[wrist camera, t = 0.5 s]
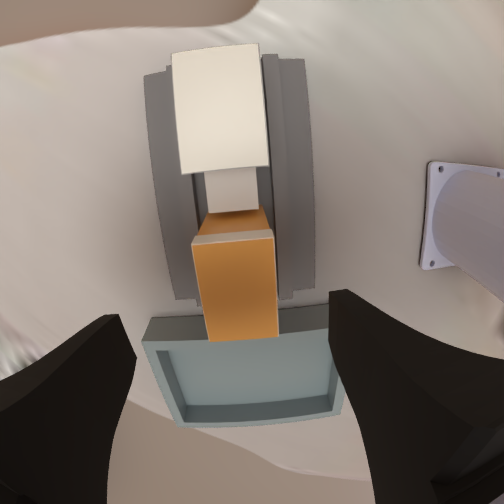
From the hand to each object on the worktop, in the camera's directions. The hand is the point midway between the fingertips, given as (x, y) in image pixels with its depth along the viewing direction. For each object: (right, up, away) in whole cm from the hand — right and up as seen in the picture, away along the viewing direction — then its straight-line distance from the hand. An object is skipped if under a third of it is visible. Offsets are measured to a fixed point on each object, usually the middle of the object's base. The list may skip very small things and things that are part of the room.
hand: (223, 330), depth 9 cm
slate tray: (+1, -6, +13) cm, 14 cm away
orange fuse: (0, +3, +8) cm, 8 cm away
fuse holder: (0, +7, +7) cm, 10 cm away
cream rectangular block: (0, +10, +5) cm, 11 cm away
